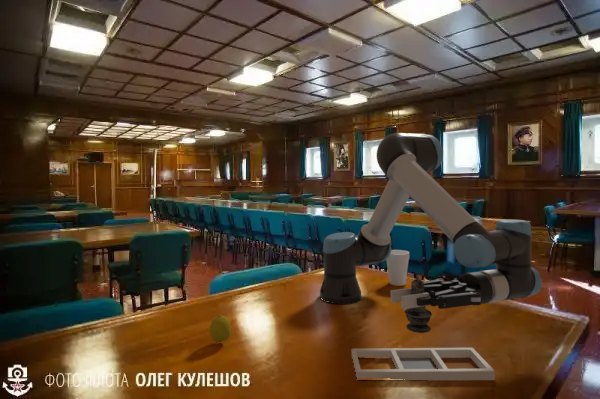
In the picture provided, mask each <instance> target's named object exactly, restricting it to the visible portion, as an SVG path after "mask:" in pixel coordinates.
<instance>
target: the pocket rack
mask: <svg viewBox="0 0 600 399" xmlns="http://www.w3.org/2000/svg"><path fill="white" fill-rule="evenodd" d="M350 351H351V360H352V359H353V361H352V364H353V363H354V365H353V369H354V368H355V370H354V373H355V372H356V374H355V378H356V377H357V379H358V378H359V379H360V378H361V379H363V378H364V379H366V378H368V379H369V378H376V379H377V378H379V379H380V378H381V379H383V378H390V379H403V380H404V379H405V380H428V381H495V380H496V379H495V378H496V377H495V376H496V371H495V370H494V368H493V367H492V366H491V365H490V364H489V363H488V362H487V361H486V360H485V359H484V358H483V357H482V355H481V354H480V353H478V352H477V351H476V350H475V348H474V347H397V348H394V347H393V348H392V347H390V348H389V347H385V348H382V347H381V348H380V347H379V348H377V347H375V348H371V347H370V348H351V350H350ZM358 357H391V358H392V359H391V358H390V359H391V362H392V361H393V362H392V364H393V363H394V364H393V366H394V365H395V366H394V368H390V369H389V368H384V369H383V368H380V369H379V368H377V369H370V368H369V369H368V368H367V369H363V368H362V367H361V365H360V360H359V359H358ZM399 357H400V358H399ZM456 358H457V359H462V358H464V359H471V360H472V362H473V363H474V364H475V366H477V367H478V368H448V366H447V365H446V364H445V363H444V361H443V360H442V359H456ZM433 362H434V363H433ZM435 365H436V366H435ZM395 367H396V368H395ZM437 368H438V369H437ZM357 379H356V380H357Z"/></svg>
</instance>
